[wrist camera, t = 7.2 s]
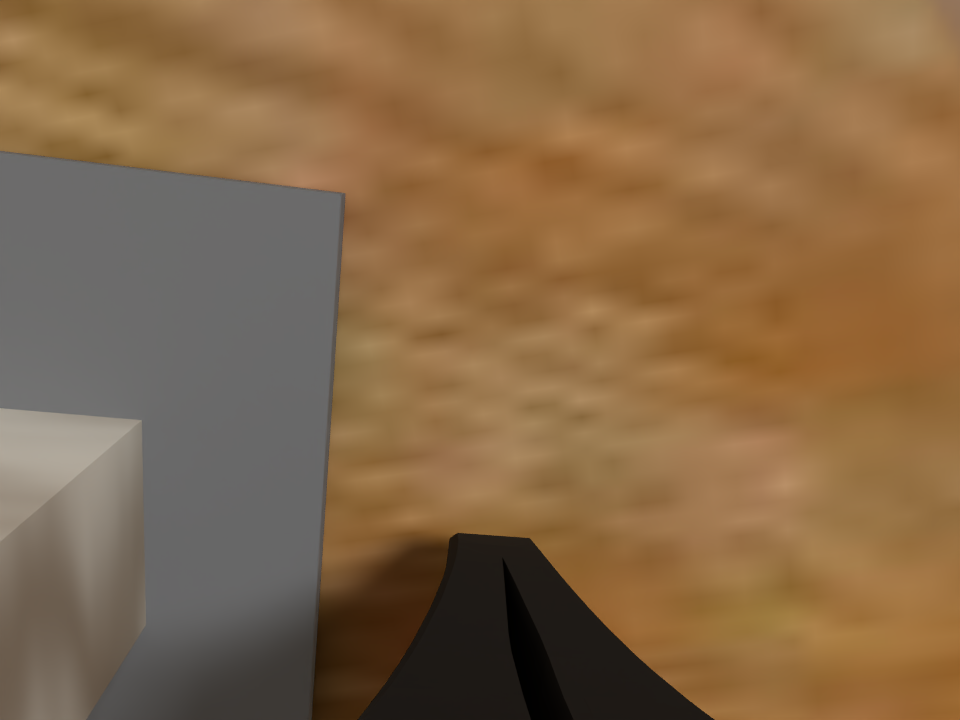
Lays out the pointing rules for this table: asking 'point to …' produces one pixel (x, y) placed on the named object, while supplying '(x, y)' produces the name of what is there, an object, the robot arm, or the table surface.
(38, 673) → the cream block
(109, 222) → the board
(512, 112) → the table surface
